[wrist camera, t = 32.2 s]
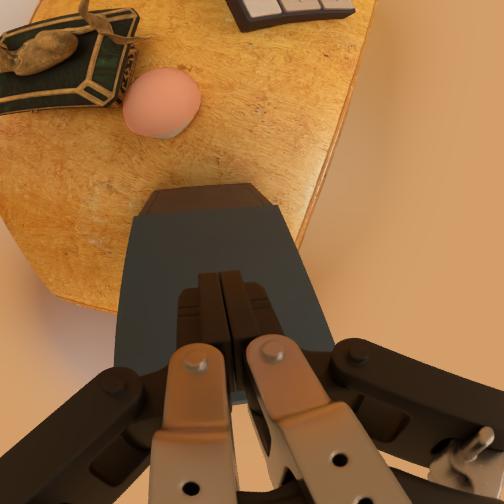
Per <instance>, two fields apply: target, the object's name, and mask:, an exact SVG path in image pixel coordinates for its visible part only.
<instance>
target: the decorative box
mask: <svg viewBox="0 0 504 504" xmlns="http://www.w3.org/2000/svg"><path fill="white" fill-rule="evenodd" d="M88 5H89V0H81V3H80V5H79V9H78V12H79V13H75V14H69V15H64V16H59V17H55V18H50V19H46V20H42V21H39V22H35V23H31V24H28V25H25V26H22V27H19V28H16V29H13V30H10V31H7V32H5V33H3V34H2V35H1V37H0V116H1V115H7V114H14V113H21V112H29V111H30V113H33V111H34V112H35V113H38V110H49V109H64V108H119V107H120V106H121V105H123V100H124V97H125V94H126V92H127V90H128V88H129V87H130V83H131V79H132V75H133V71H134V67H135V63H136V59H137V56H138V52H139V50H138V49H137V48H136V46H135V45H134V44H132V43H135V42H138V41H142V40H146V39H149V38H151V37H150V36H141V37H134V35H135V32H136V29H137V26H138V23H139V20H140V17H139V15H138V14H137V12H136V11H135V10H134V9H133V8H117V9H105V10H96V11H88Z"/></svg>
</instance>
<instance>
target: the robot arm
mask: <svg viewBox="0 0 504 504" xmlns="http://www.w3.org/2000/svg"><path fill="white" fill-rule="evenodd" d="M219 279H220V281H219ZM177 317H178V318H177V341H176V352H174V354H173V355H172V356H171V358H170V362H169V364H168V365H167V366H165V367H164V368H162V369H160V370H158V371H156V372H153V373H150V374H146V375H143V376H140V377H139V375H138V374H137V373H136V372H135V371H133V370H132V369H129V368H126V367H112V368H109V369H106V370H104V371H102V372H101V373H99V374H98V375H97V376H96V377H95V378H93V379H92V380H91V381H90V382H89V383H88V384H86V385H85V386H84V387H83V388H82V389H80V390H79V391H78V392H77V393H76V394H74V395H73V396H72V397H71V398H70V399H69V400H67V401H66V402H65V403H64V404H63V405H62V406H60V407H59V408H58V409H57V410H56V411H54V413H52V414H51V415H50V416H49V417H47V418H46V419H45V420H44V421H43V422H42V423H40V424H39V425H38V426H37V427H36V428H34V429H33V430H32V431H31V432H30V433H29V434H27V435H26V436H25V437H24V438H23V439H21V440H20V441H19V442H18V443H17V444H16V445H15V446H14V447H12V448H11V449H10V450H9V451H7V452H6V453H5V454H4V455H3V456H2V457H1V458H0V504H113V503H114V502H115V501H116V500H117V498H119V497H120V495H122V494H123V493H124V492H125V491H126V489H128V487H129V486H130V485H131V484H132V483H133V482H134V481H135V480H136V479H137V478H138V477H139V476H140V475H141V474H142V473H143V472H144V470H145V469H146V468H147V467H148V466H149V465H150V475H149V476H150V477H149V499H148V500H149V501H148V502H149V503H148V504H504V501H502V500H500V499H499V498H500V495H501V491H502V488H503V483H504V391H501V390H498V389H495V388H492V387H489V386H486V385H483V384H480V383H477V382H474V381H471V380H469V379H466V378H463V377H460V376H457V375H455V374H452V373H449V372H446V371H444V370H441V369H438V368H436V367H433V366H430V365H428V364H425V363H422V362H419V361H417V360H414V359H412V358H409V357H407V356H404V355H401V354H399V353H397V352H394V351H391V350H389V349H387V348H384V347H382V346H379V345H377V344H374V343H371V342H369V341H367V340H364V339H359V338H349V339H345V340H342V341H340V342H338V343H337V344H336V345H335V346H334V348H333V351H332V352H320V351H308V350H304V349H301V348H299V346H298V345H297V344H296V343H295V342H294V341H293V340H292V339H290V338H288V337H286V336H285V334H284V332H283V329H282V327H281V325H280V323H279V320H278V318H277V316H276V314H275V311H274V309H273V307H272V304H271V302H270V300H269V298H268V295H267V293H266V291H265V289H264V288H263V287H262V286H261V285H259V284H258V283H257V282H246V283H244V282H243V279H242V275H241V272H240V270H229V271H219V276H218V272H209V273H199V274H198V287H197V288H186V289H184V290H183V291H182V293H181V294H180V296H179V297H178V311H177ZM234 378H235V382H236V387H237V391H244V390H245V393H246V397H247V401H248V412H249V415H250V418H251V421H252V424H253V427H254V429H255V432H256V435H257V438H258V440H259V443H260V446H261V449H262V452H263V454H264V457H265V460H266V463H267V468H268V473H269V476H270V479H271V482H272V485H273V487H274V490H272V491H269V492H245V491H240V487H239V479H238V472H237V465H236V457H235V448H234V439H233V430H232V419H231V412H232V401H231V392H235V383H234ZM377 449H378V450H380V451H383V452H385V453H388V454H390V455H393V456H395V457H398V458H401V459H403V460H406V461H409V462H411V463H414V464H417V465H420V466H423V467H427V468H429V469H430V472H429V473H428V480H429V481H428V480H426V479H423V478H420V477H417V476H414V475H412V474H409V473H407V472H404V471H402V470H399V469H396V468H393V467H389V466H388V465H387V464H386V462H385V460H384V459H383V457H382V456H381V454H380V453H379V451H378V450H377Z"/></svg>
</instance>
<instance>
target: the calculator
mask: <svg viewBox="0 0 504 504" xmlns="http://www.w3.org/2000/svg"><path fill="white" fill-rule="evenodd" d="M226 1H227V3H228V5H229V7H230V9H231V12H232V14H233V16H234V18H235V20H236V22H237V24H238V27H239V29H240V30H241V31H242V32H248V31H253V30H257V29H262V28H268V27H272V26H275V25H278V24H284V23H292V22H300V21H310V20H323V19H344V18H346V17H348V16H350V15H352V14H353V13H355V12H356V11H355V8H354V5H353V3H352V1H351V0H226Z"/></svg>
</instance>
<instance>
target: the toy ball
mask: <svg viewBox="0 0 504 504" xmlns="http://www.w3.org/2000/svg"><path fill="white" fill-rule="evenodd" d="M200 104H201V92H200V90H199V88H198V86H197V84H196V82H195V81H194V80H193V79H192V78H191V77H190V76H189V75H188V74H186V73H185V72H183V71H181V70H178V69H175V68H168V67H163V68H156V69H153V70H150V71H147V72H145V73H144V74H142V75H141V76H139V77H138V78H137V79H136V80H135V81H134V82H133V83H132V84H131V85H130V87H129V88H128V90H127V92H126V94H125V97H124V100H123V117H124V120H125V123H126V125H127V127H128V128H129V129H130V130H131V131H132V132H133V133H135V134H137V135H141V136H147V137H150V138H154V139H171V138H173V137H175V136H177V135H178V134H179V133H181V132H182V131H183V130H184V129H185V128H186V127H187V126H188V125H189V123H190V122H191V121H192V119H193V118H194V117H195V115H196V114H197V112H198V110H199V108H200Z"/></svg>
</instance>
